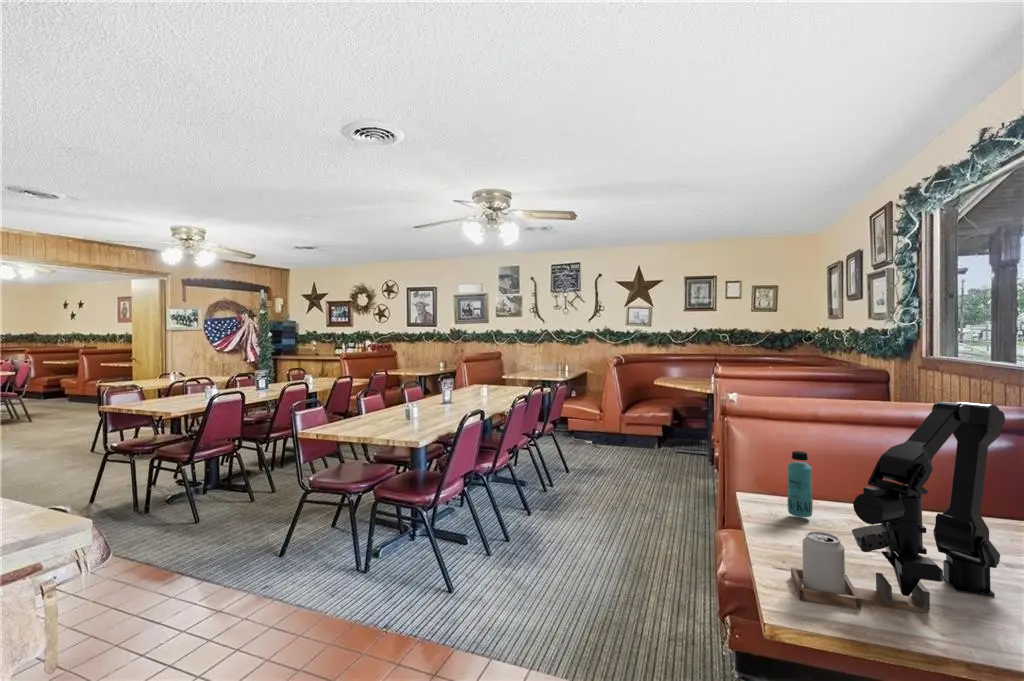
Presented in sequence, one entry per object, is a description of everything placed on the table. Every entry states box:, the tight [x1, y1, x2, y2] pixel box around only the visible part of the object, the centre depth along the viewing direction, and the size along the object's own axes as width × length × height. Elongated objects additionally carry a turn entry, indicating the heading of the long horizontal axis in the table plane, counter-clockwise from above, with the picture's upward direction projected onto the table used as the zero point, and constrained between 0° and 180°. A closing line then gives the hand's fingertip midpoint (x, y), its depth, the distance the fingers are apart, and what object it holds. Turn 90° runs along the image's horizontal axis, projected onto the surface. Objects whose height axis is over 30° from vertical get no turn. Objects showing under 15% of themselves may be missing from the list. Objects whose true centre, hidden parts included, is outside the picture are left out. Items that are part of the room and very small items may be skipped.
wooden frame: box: [790, 567, 931, 614], centre depth 101 cm, size 22×11×4 cm, turn 68°
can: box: [802, 530, 846, 595], centre depth 103 cm, size 8×8×12 cm
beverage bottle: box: [786, 450, 814, 518], centre depth 146 cm, size 6×7×20 cm
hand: (905, 594), depth 98 cm, fingers closed
